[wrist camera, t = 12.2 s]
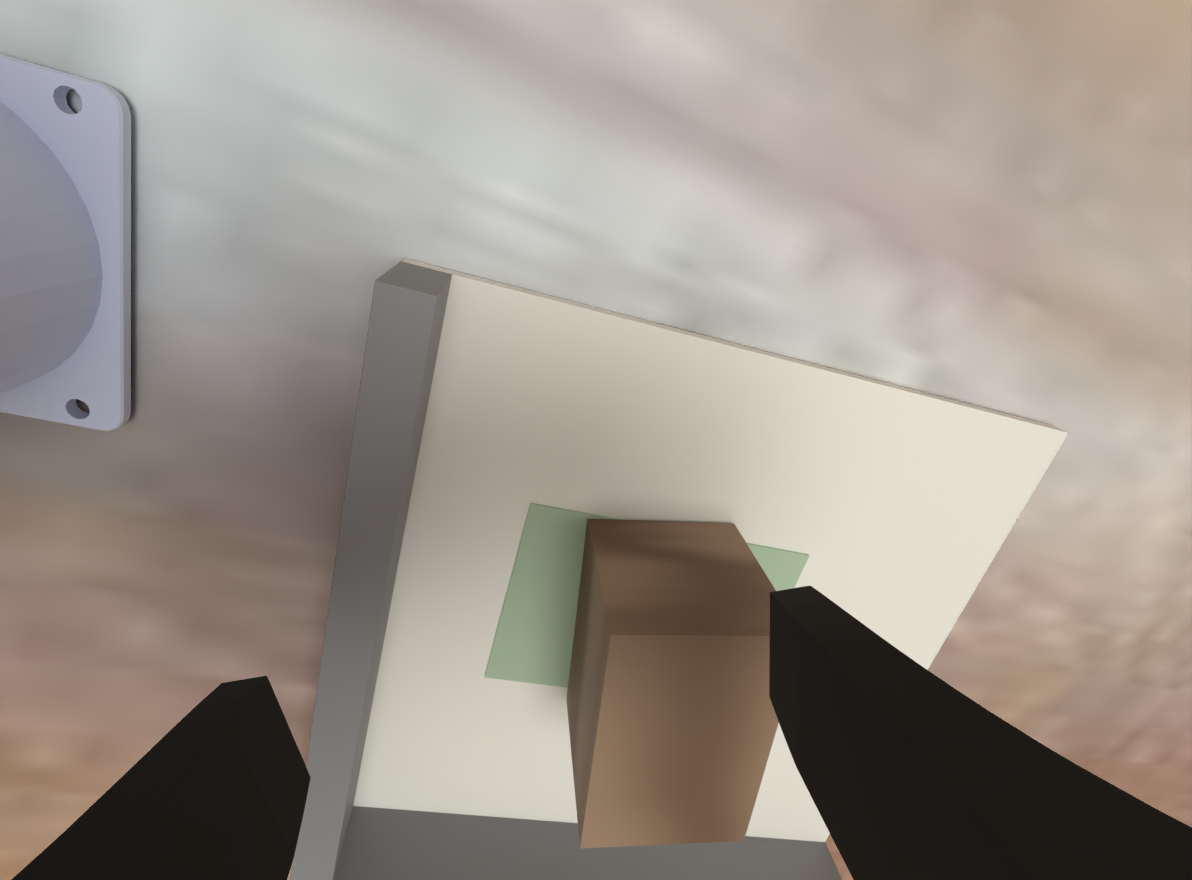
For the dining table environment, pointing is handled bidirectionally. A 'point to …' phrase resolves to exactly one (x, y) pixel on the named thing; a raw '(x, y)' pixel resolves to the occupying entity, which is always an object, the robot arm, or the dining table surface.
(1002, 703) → the dining table surface
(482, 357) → the arena
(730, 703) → the walnut block
